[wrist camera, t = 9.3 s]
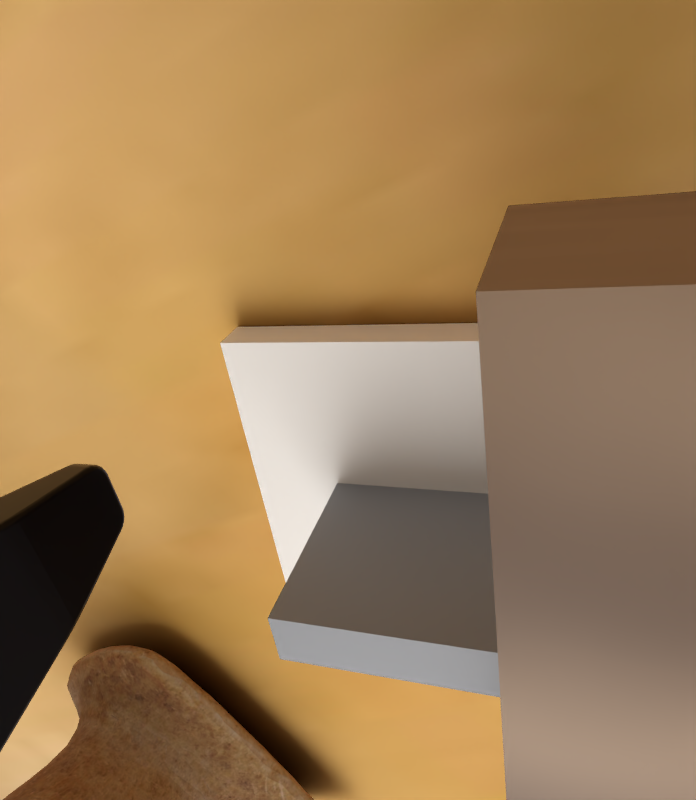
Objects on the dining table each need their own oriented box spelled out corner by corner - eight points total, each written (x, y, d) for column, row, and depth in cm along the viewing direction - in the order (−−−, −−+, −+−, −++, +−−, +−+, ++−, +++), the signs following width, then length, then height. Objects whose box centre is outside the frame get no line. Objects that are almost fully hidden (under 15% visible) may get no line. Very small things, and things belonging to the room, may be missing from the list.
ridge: (1154, 311, 14) (1546, 535, 8) (975, 680, 20) (1131, 960, 14) (237, 326, 21) (108, 449, 16) (304, 591, 27) (229, 750, 21)
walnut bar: (634, 933, 20) (642, 1092, 17) (531, 905, 21) (521, 1051, 18) (733, 188, 9) (800, 280, 6) (508, 205, 10) (475, 291, 7)
